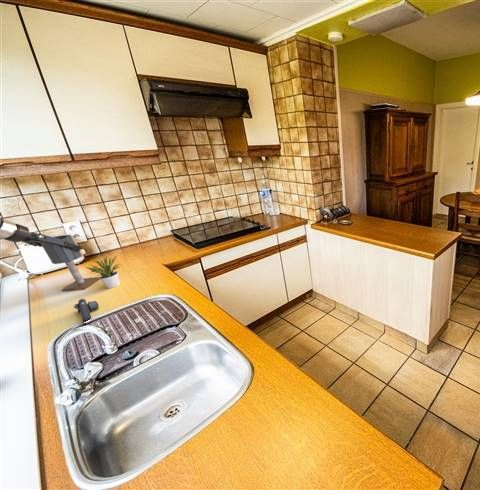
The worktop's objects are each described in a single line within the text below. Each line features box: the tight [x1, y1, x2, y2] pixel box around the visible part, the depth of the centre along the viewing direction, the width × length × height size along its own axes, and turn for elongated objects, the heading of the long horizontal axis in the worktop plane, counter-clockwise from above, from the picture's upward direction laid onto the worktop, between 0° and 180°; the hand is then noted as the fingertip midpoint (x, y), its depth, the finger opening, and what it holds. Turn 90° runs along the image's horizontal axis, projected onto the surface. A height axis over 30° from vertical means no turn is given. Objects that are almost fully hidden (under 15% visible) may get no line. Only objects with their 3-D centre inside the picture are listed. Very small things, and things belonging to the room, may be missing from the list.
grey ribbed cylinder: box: [41, 234, 83, 265], centre depth 128 cm, size 10×10×11 cm
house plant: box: [84, 253, 122, 289], centre depth 133 cm, size 14×14×16 cm
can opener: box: [72, 298, 99, 323], centre depth 111 cm, size 18×7×6 cm, turn 44°
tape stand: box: [61, 260, 101, 293], centre depth 134 cm, size 10×10×14 cm
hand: (70, 249), depth 132 cm, fingers closed on grey ribbed cylinder, 10 cm apart
